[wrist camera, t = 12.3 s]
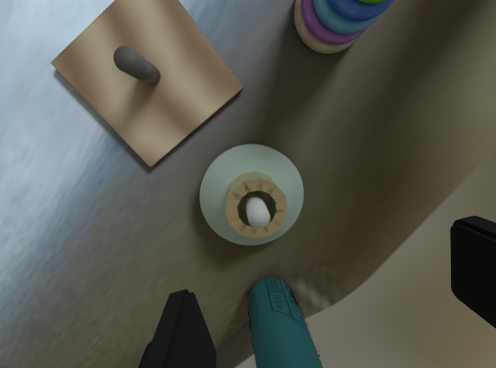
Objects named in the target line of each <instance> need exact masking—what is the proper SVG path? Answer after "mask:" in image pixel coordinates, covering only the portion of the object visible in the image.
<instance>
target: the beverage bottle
mask: <svg viewBox="0 0 496 368" xmlns="http://www.w3.org/2000/svg"><path fill="white" fill-rule="evenodd" d="M294 294H295V292H294V293H293V289H291V287H290V285H289V284H288V283H287V282H286V281H284V280H283V279H280V278H277V277H267V278H264V279H261V280H259V281H258V282H256V283H255V284H254V285H253V287H252V288H251V290H250V292H249V297H248V300H247V301H248V303H249V309H248V310H249V311H250V312H248V314H249V313H250V318H249V322H250V320H251V323H250V324H251V327H250V330H251V329H252V332H251V333H252V335H251V337H253V338H251V339H252V340H253V341H252V342H253V346H254V354H255V360H256V366H257V368H323V367H322V365H321V362H320V359H319V357H318V356H319V355H318V354H317V351H316V349H315V346H314V343H313V341H312V338H311V336H310V333H309V331H308V328H307V326H306V323H305V321H304V318H303V315H302V313H303V312H302V313H301V311H300V308H301V307H300V308H299V305H298V303H299V302H297V301H296V298H297V297H296V298H295V296H294Z"/></svg>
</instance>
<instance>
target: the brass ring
mask: <svg viewBox="0 0 496 368" xmlns="http://www.w3.org/2000/svg"><path fill="white" fill-rule="evenodd" d="M258 190H260V191H263V192H266V193H269V196H270V200H269V202H268V205H267V210H268V212H269V214H270V221H269V223H268V224H267V225H266V226H265V227H263V228H254V227H252V226H251V225H250V224H249V222H248V217H247V212H245V211H243V210H242V209H241V208H240V207H239V206H238V204H239V202H240V199H241V198H242V197H243V196H245V195H246V194H247V193H248V192H252V191H258ZM225 208H226V213H227V219H228V223H229V224H230V225H231V226H232V227H233V228H234V229H235V230H236V231H237V233H238V234H241V235H244V236H247V237H250V238H259V237H264V236H269V235H271V234H272V233H273V232H275V231H276V230H277V229H278V228H280V227H281V226H282V224H283V222H284V220H285V217H286V215H287V213H288V208H287V200H286V196H285V194H284V193H283V192H282V191H281V190H280V188H279V187H278V186H277V185H276V183H275V182H274V181H273V180H272V178H271V177H270V176H269V175H266V174H263V173H260V172H258V171H253V172H247V173H242V174H240V175H239V176H238V177H237V178H236V179H234V180H233V181H232V182H231V183H230V186H229V189H228V191H227V194H226V202H225Z"/></svg>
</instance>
